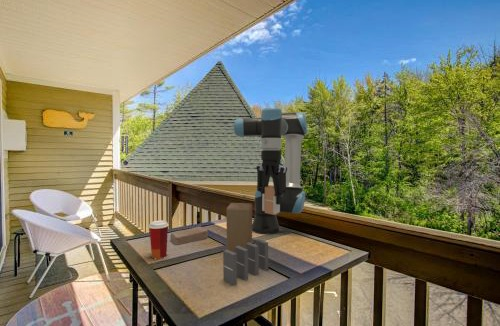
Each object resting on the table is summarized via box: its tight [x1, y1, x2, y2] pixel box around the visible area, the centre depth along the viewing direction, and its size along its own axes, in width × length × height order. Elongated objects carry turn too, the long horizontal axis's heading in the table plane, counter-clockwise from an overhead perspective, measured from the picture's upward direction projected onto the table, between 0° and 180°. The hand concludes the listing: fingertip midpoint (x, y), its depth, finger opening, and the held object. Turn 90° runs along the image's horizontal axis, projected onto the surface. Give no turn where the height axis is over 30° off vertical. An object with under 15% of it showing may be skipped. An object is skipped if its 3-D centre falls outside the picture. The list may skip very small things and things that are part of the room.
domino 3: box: [246, 242, 260, 276], centre depth 92 cm, size 2×5×10 cm, turn 43°
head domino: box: [265, 185, 278, 216], centre depth 98 cm, size 2×5×10 cm, turn 43°
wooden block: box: [226, 202, 253, 253], centre depth 112 cm, size 10×10×20 cm
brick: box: [169, 226, 209, 246], centre depth 127 cm, size 16×8×5 cm, turn 126°
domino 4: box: [255, 238, 269, 272], centre depth 96 cm, size 2×5×10 cm, turn 43°
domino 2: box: [235, 246, 249, 281], centre depth 89 cm, size 2×5×10 cm, turn 44°
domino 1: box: [222, 249, 238, 286], centre depth 85 cm, size 2×5×10 cm, turn 43°
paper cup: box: [148, 219, 170, 260], centre depth 106 cm, size 8×8×14 cm
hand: (270, 211), depth 98 cm, fingers closed on head domino, 5 cm apart
